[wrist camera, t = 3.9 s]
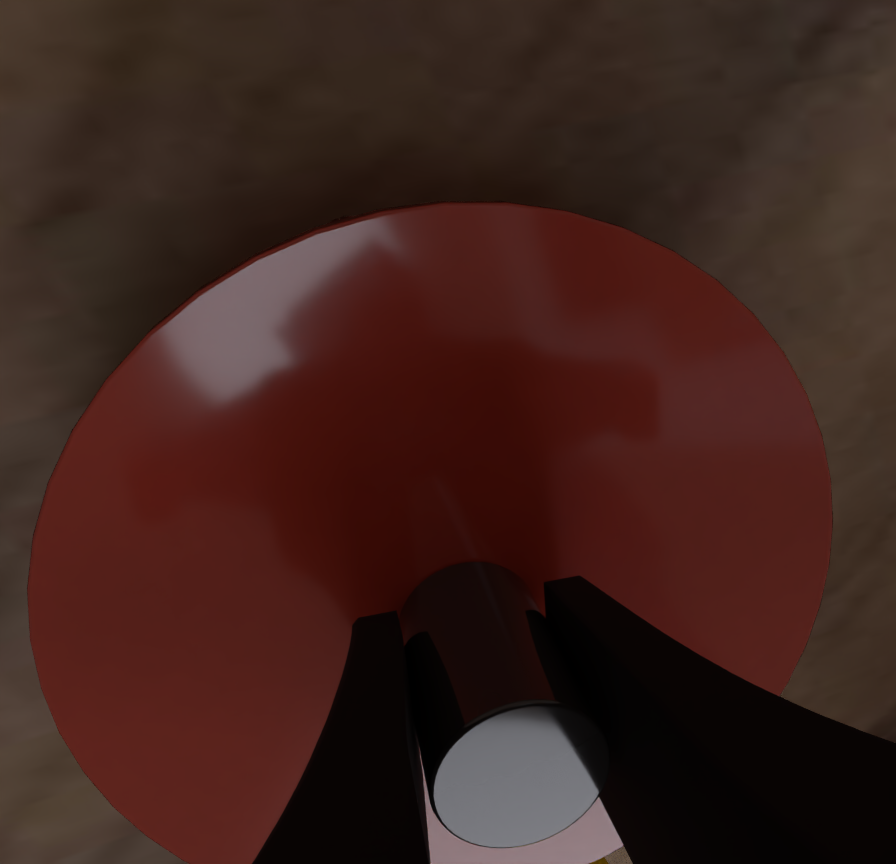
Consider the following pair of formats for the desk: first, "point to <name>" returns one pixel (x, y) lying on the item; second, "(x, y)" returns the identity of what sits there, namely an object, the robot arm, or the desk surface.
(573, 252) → the lid
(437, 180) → the desk surface
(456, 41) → the desk surface
